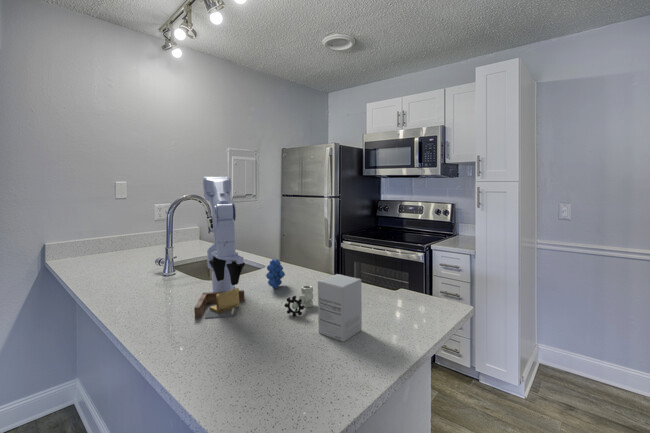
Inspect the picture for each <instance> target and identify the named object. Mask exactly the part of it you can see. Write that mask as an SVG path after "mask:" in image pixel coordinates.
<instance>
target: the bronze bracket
mask: <svg viewBox="0 0 650 433" xmlns="http://www.w3.org/2000/svg"><path fill="white" fill-rule="evenodd" d="M239 290H240V289H239V287H234V289H232V290H229V291H226V292H223V293H220V294H217V295H216V302H217V303H216V304H217V305H214V306H211V307H210V306H209V307H210V310H211V311H214V312H216V313H222V312H224V311H227V310H230V309H232V308H235V307H237V308H238V307H239V306H240V301H239Z"/></svg>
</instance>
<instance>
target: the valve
mask: <svg viewBox="0 0 650 433" xmlns="http://www.w3.org/2000/svg"><path fill="white" fill-rule="evenodd" d="M313 289H314V287H313V286H312V285H307V284H306V285H302V287H301V295H299V297H298V299H297V296H296V295H293V296H292V297H287V298H286V302H287V303H284V307H285V308H287V311H286V314H289V315H290V314H291V313H292V317H293V318H295V317H297V315H298V316H302V315H303V311H302V310H304V309H305V308H307V309H308V308H311V307H312V306H313V305H314V301H313V300H314V293H313V292H314V291H313ZM291 298H292V299H291Z"/></svg>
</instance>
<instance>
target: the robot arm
mask: <svg viewBox="0 0 650 433" xmlns="http://www.w3.org/2000/svg"><path fill="white" fill-rule="evenodd" d="M202 184H203V185H202V186H203V197H204V199H205V200H207V201H208V202H209V203H210V206H211V214H212V215H211V217H212V229H213V231H212V233H213V244H211V245H210V246H209V247H208V248H207V250H206V252H207V254H206V257H207V260H206V261H207V268H208V269H209V270H211V284H212V285H211V286H212V289H211V290H210V292H223V291H229V290H232V289H235V286H236V285H238V284H239V282H240V277H241V273H242V272H243V269H244V266H245V265H246V264H245V262H244V257H243V256H241V255H239V253H238V252H236V235H235V234H236V233H235V221H236V219H237V210H236V206H235V203H234V202H232V200H231V192H232V181H231V177H229V176H228V175H227V176H203V178H202Z"/></svg>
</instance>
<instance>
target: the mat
mask: <svg viewBox="0 0 650 433" xmlns="http://www.w3.org/2000/svg"><path fill="white" fill-rule="evenodd" d="M214 305H217V303H212V304H210V306H209V308H208V310H207V312H206V314H205V317H204V319H205V320H207V319H217V318H218V319H219V318H220V319H221V318H233V317H236V314H237V310H238V306H237V307H235V308H232V309H230V310H227V311H224V312H222V313H216V312H214V311H211V310H210V307H211V306H214Z"/></svg>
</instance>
